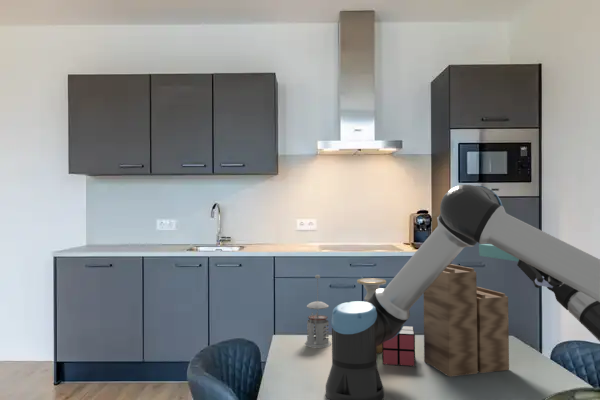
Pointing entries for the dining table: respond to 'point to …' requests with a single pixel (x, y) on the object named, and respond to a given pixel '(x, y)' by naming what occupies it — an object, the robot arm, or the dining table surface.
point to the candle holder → (371, 287)
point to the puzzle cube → (400, 348)
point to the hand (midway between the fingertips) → (518, 244)
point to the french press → (317, 325)
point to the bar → (494, 252)
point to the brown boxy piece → (465, 325)
